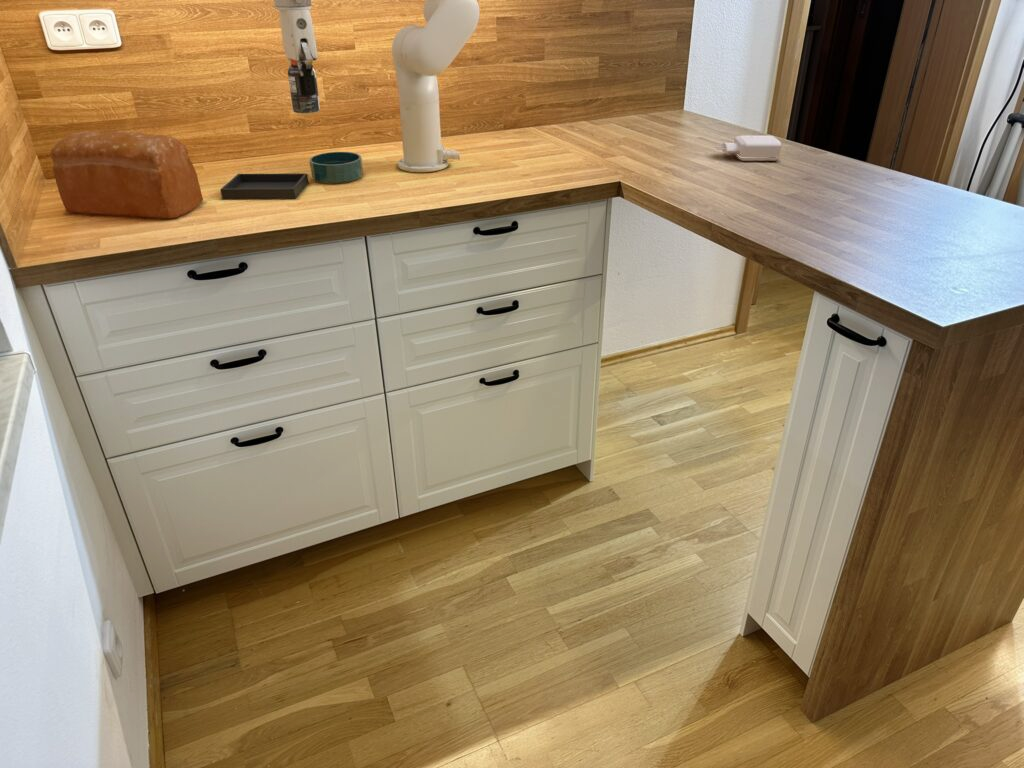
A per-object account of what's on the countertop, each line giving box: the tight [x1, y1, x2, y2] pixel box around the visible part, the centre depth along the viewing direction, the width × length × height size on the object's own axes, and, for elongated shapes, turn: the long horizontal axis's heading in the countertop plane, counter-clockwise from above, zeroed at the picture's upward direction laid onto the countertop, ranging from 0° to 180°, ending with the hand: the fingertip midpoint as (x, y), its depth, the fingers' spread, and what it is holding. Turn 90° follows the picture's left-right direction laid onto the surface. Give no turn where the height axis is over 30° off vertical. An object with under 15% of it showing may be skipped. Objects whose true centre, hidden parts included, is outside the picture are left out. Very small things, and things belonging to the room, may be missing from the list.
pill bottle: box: [287, 58, 321, 115], centre depth 161 cm, size 6×6×11 cm
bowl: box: [308, 151, 364, 185], centre depth 174 cm, size 12×12×4 cm
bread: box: [49, 130, 204, 219], centre depth 152 cm, size 14×26×16 cm, turn 80°
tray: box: [219, 172, 310, 200], centre depth 165 cm, size 16×12×2 cm
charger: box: [714, 135, 782, 162], centre depth 187 cm, size 5×9×15 cm
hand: (304, 91), depth 162 cm, fingers closed on pill bottle, 6 cm apart
